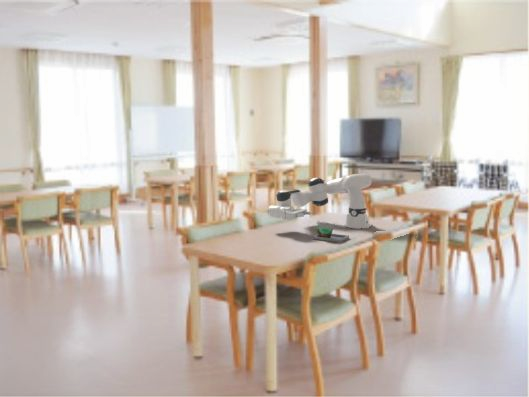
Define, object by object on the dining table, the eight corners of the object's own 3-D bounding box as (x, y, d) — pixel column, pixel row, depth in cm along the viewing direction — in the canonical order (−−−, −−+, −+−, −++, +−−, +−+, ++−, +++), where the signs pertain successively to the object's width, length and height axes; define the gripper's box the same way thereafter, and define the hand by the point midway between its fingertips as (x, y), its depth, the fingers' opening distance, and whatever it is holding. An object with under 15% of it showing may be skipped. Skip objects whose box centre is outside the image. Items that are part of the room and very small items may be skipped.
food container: (316, 238, 347) (319, 223, 344) (314, 234, 353) (317, 220, 350) (334, 240, 349) (337, 225, 346) (332, 236, 355) (335, 222, 352)
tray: (322, 235, 363) (322, 232, 362) (349, 238, 353) (349, 235, 353) (313, 239, 350) (313, 236, 350) (340, 242, 340) (340, 239, 340)
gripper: (296, 215, 376) (313, 216, 369) (281, 219, 358) (300, 221, 351) (296, 206, 375) (313, 207, 368) (281, 210, 357) (300, 212, 350)
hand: (307, 214), depth 359 cm, fingers open, 8 cm apart
